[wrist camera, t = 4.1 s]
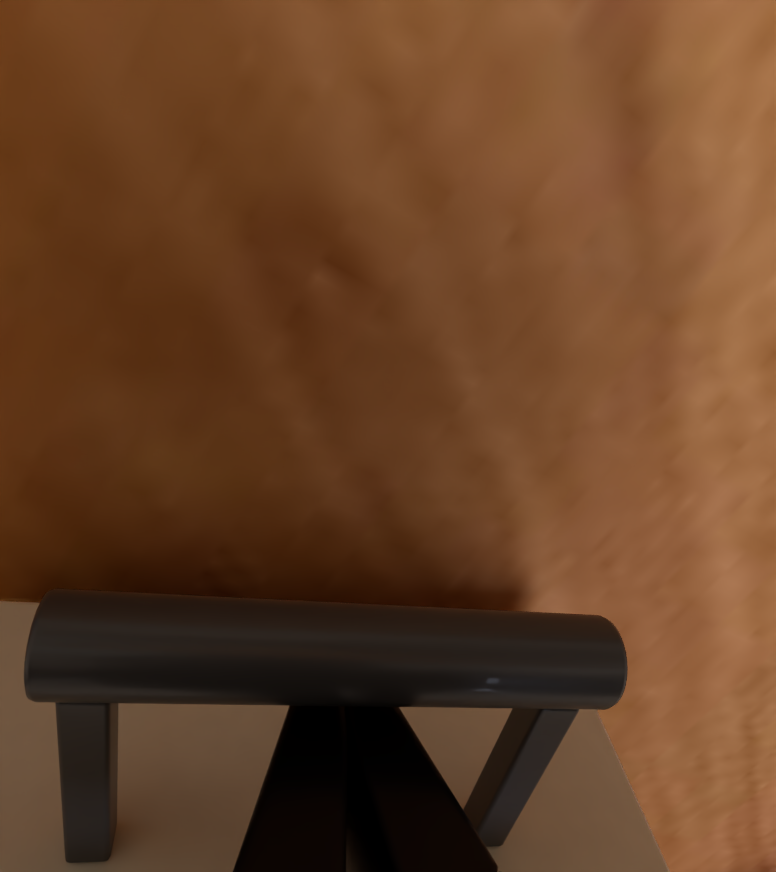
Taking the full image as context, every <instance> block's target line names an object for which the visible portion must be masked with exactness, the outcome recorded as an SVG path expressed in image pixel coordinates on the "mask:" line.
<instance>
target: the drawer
mask: <svg viewBox="0 0 776 872" xmlns="http://www.w3.org/2000/svg"><path fill="white" fill-rule="evenodd" d="M626 680H627V657H626V651H625V647H624V644H623V641H622V638H621V636H620V634H619V632H618V630H617V628H616V627H615V626H614V624H613V623H611V622H610V621H609V620H608V619H606V618H604V617H602V616H599V615H583V614H562V613H542V612H522V611H501V610H481V609H461V608H441V607H420V606H400V605H380V604H359V603H339V602H319V601H299V600H278V599H258V598H238V597H217V596H197V595H177V594H157V593H136V592H116V591H96V590H76V589H53V590H50V591H48V592H47V593H46V594H45V595H44V597H43V598H42V600H41V602H40V603H36V602H13V601H0V872H233V869H234V866H235V863H236V860H237V857H238V854H239V852H240V849H241V846H242V843H243V840H244V837H245V834H246V831H247V828H248V825H249V822H250V819H251V816H252V814H253V811H254V808H255V805H256V802H257V799H258V796H259V793H260V790H261V787H262V784H263V781H264V778H265V776H266V773H267V770H268V767H269V764H270V761H271V758H272V755H273V752H274V749H275V746H276V743H277V740H278V737H279V735H280V732H281V729H282V726H283V723H284V720H285V717H286V714H287V711H288V708H289V706H364V707H399V708H400V709H401V711H402V713H403V714H404V716H405V717H406V719H407V721H408V722H409V724H410V725H411V727H412V729H413V730H414V732H415V733H416V735H417V737H418V738H419V740H420V742H421V743H422V745H423V746H424V748H425V750H426V751H427V753H428V754H429V756H430V758H431V759H432V761H433V762H434V764H435V766H436V767H437V769H438V770H439V772H440V774H441V775H442V777H443V778H444V780H445V782H446V783H447V785H448V786H449V788H450V790H451V791H452V793H453V794H454V796H455V798H456V799H457V801H458V803H459V804H460V806H461V807H462V809H463V811H464V812H465V814H466V815H467V817H468V819H469V820H470V822H471V823H472V825H473V827H474V828H475V830H476V831H477V833H478V835H479V836H480V838H481V839H482V841H483V843H484V844H485V846H486V847H487V849H488V851H489V852H490V854H491V855H492V857H493V859H494V860H495V862H496V864H497V865H498V871H497V872H670V871H669V868H668V866H667V864H666V862H665V860H664V857H663V855H662V853H661V851H660V849H659V846H658V844H657V842H656V840H655V838H654V835H653V833H652V831H651V829H650V827H649V824H648V822H647V820H646V818H645V815H644V813H643V811H642V809H641V807H640V804H639V802H638V800H637V798H636V796H635V793H634V791H633V789H632V787H631V785H630V782H629V780H628V778H627V776H626V774H625V771H624V769H623V767H622V765H621V763H620V760H619V758H618V756H617V754H616V751H615V749H614V747H613V745H612V743H611V740H610V738H609V736H608V734H607V732H606V729H605V727H604V725H603V723H602V721H601V718H600V716H599V714H598V712H597V710H604V709H608V708H610V707H612V706H614V705H615V704H616V703H617V702H618V701H619V700H620V698H621V697H622V695H623V692H624V689H625V686H626Z"/></svg>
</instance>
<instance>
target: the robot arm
mask: <svg viewBox="0 0 776 872" xmlns="http://www.w3.org/2000/svg"><path fill="white" fill-rule="evenodd" d="M497 871H498V865H497V864H496V862H495V860H494V859H493V857H492V855H491V854H490V852H489V851H488V849H487V847H486V846H485V844H484V843H483V841H482V839H481V838H480V836H479V835H478V833H477V831H476V830H475V828H474V827H473V825H472V823H471V822H470V820H469V819H468V817H467V815H466V814H465V812H464V811H463V809H462V807H461V806H460V804H459V803H458V801H457V799H456V798H455V796H454V794H453V793H452V791H451V790H450V788H449V786H448V785H447V783H446V782H445V780H444V778H443V777H442V775H441V774H440V772H439V770H438V769H437V767H436V766H435V764H434V762H433V761H432V759H431V758H430V756H429V754H428V753H427V751H426V750H425V748H424V746H423V745H422V743H421V742H420V740H419V738H418V737H417V735H416V733H415V732H414V730H413V729H412V727H411V725H410V724H409V722H408V721H407V719H406V717H405V716H404V714H403V713H402V711H401V709H400V708H399V707H364V706H289V708H288V711H287V714H286V717H285V720H284V723H283V726H282V729H281V732H280V735H279V737H278V740H277V743H276V746H275V749H274V752H273V755H272V758H271V761H270V764H269V767H268V770H267V773H266V776H265V778H264V781H263V784H262V787H261V790H260V793H259V796H258V799H257V802H256V805H255V808H254V811H253V814H252V816H251V819H250V822H249V825H248V828H247V831H246V834H245V837H244V840H243V843H242V846H241V849H240V852H239V854H238V857H237V860H236V863H235V866H234V869H233V872H497Z"/></svg>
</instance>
